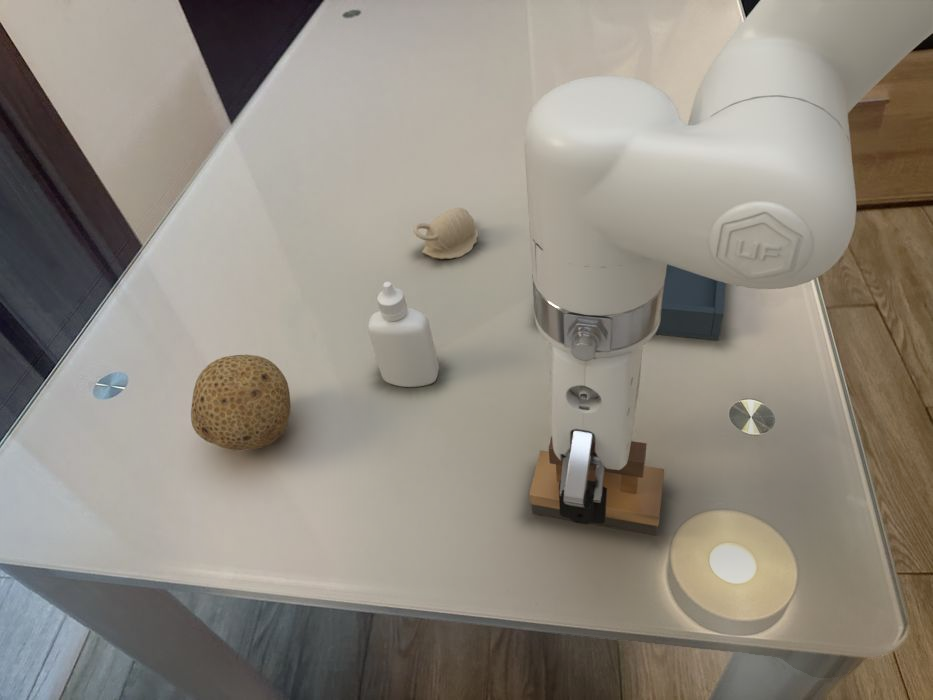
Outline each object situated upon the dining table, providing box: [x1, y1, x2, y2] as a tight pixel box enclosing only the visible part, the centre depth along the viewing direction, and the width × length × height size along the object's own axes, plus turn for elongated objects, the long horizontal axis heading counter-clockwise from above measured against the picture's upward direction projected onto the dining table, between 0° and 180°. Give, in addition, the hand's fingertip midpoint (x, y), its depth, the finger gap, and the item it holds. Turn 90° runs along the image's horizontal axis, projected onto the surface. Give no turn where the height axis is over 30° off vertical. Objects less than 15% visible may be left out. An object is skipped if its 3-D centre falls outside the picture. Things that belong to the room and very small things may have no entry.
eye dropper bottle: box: [367, 281, 440, 388], centre depth 67 cm, size 4×6×12 cm
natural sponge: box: [190, 354, 292, 452], centre depth 64 cm, size 9×9×10 cm
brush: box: [528, 435, 665, 536], centre depth 55 cm, size 10×4×8 cm, turn 74°
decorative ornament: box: [413, 207, 479, 260], centre depth 82 cm, size 4×8×5 cm, turn 122°
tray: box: [654, 264, 726, 341], centre depth 77 cm, size 18×22×4 cm
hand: (592, 461), depth 54 cm, fingers open, 9 cm apart
